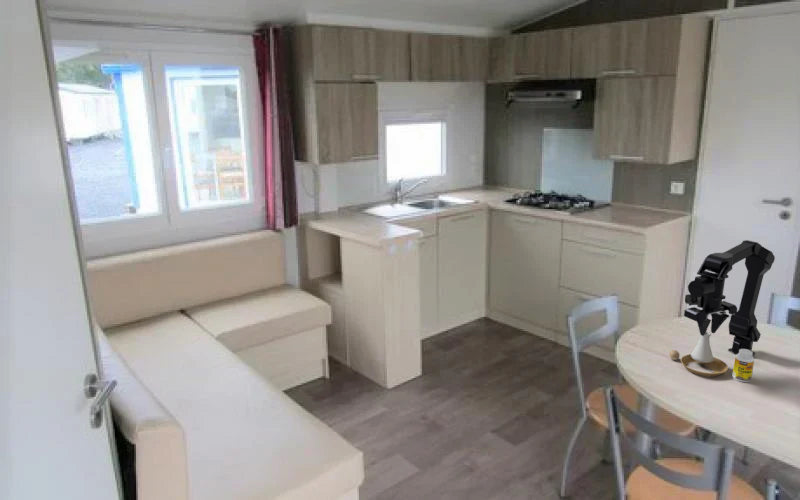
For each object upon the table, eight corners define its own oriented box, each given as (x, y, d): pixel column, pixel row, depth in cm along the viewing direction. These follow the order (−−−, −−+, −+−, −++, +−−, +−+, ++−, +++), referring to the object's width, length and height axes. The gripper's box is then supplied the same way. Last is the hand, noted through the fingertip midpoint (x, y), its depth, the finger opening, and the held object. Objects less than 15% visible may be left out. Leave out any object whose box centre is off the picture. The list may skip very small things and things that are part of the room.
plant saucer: (710, 384, 195) (711, 377, 195) (671, 367, 208) (671, 360, 207) (736, 373, 203) (737, 366, 202) (696, 356, 215) (697, 350, 214)
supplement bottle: (734, 381, 196) (738, 353, 193) (730, 373, 201) (734, 346, 198) (752, 383, 194) (757, 355, 192) (748, 376, 200) (753, 348, 197)
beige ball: (673, 356, 214) (674, 347, 213) (681, 360, 211) (682, 351, 210) (666, 358, 213) (667, 349, 212) (673, 362, 210) (675, 353, 209)
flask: (718, 362, 205) (722, 336, 202) (698, 364, 204) (702, 337, 201) (705, 353, 211) (708, 328, 209) (686, 355, 211) (689, 329, 208)
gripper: (713, 280, 208) (707, 321, 212) (673, 288, 201) (668, 330, 206) (741, 290, 198) (734, 332, 203) (700, 298, 191) (694, 342, 196)
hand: (707, 334), depth 202 cm, fingers open, 5 cm apart
